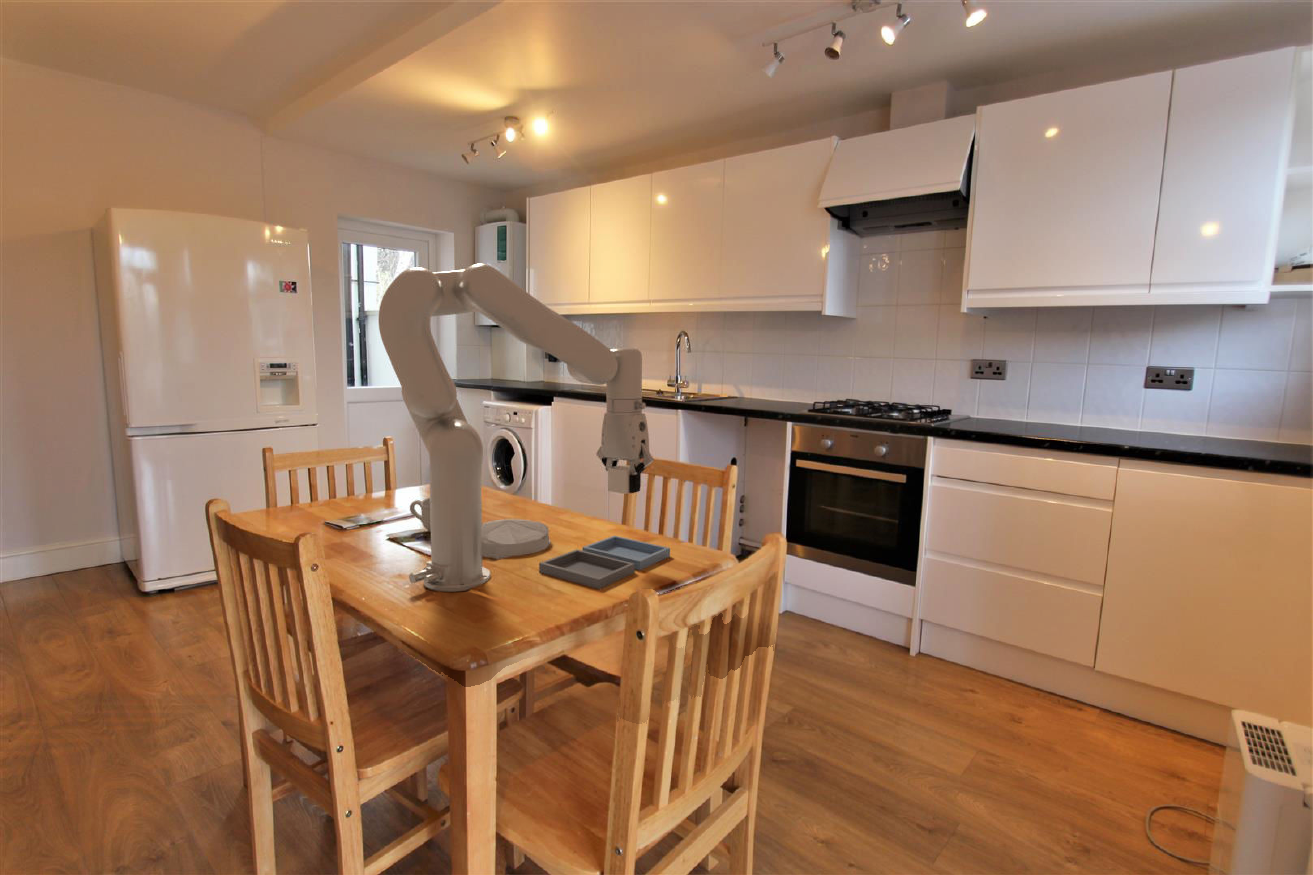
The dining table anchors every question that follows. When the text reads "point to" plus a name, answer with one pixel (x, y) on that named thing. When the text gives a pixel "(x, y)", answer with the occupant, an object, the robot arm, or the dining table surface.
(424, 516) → the teacup
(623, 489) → the stone block
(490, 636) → the dining table surface
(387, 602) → the dining table surface
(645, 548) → the slate-blue bin
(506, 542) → the food container
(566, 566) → the charcoal bin
